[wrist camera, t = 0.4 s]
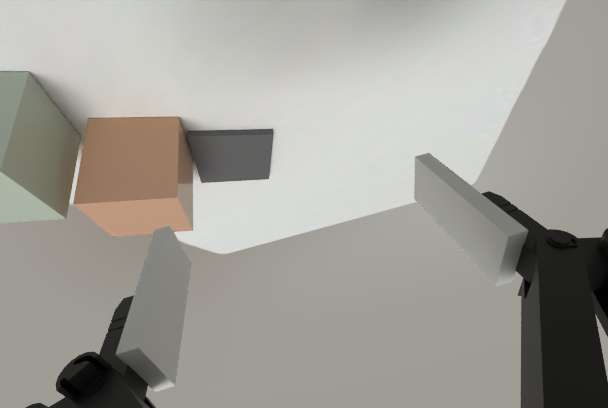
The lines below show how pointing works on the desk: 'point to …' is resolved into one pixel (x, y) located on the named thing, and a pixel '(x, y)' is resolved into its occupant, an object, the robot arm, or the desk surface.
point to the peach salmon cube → (136, 175)
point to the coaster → (232, 154)
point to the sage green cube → (33, 152)
